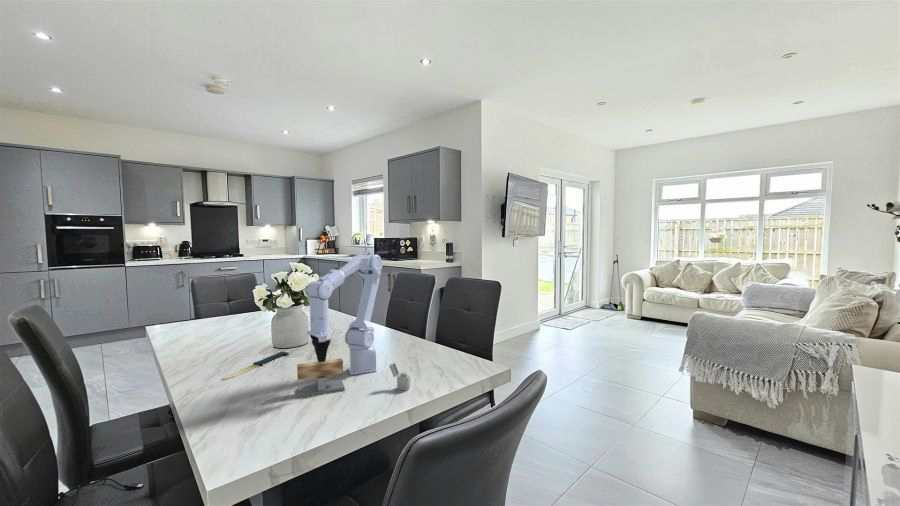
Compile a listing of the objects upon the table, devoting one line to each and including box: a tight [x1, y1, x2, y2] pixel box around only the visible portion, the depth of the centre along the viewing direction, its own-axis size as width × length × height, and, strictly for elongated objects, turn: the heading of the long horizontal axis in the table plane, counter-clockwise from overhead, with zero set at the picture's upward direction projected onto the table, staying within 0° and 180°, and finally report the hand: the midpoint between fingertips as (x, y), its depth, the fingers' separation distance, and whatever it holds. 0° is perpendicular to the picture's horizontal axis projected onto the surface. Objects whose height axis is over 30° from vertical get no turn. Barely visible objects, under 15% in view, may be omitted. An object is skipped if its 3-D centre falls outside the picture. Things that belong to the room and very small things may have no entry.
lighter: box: [389, 362, 411, 392], centre depth 122 cm, size 7×2×8 cm, turn 66°
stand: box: [297, 376, 346, 399], centre depth 122 cm, size 14×8×5 cm, turn 114°
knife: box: [222, 351, 290, 381], centre depth 145 cm, size 4×2×30 cm
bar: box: [296, 358, 344, 381], centre depth 122 cm, size 14×3×4 cm, turn 114°
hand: (320, 358), depth 122 cm, fingers open, 7 cm apart
